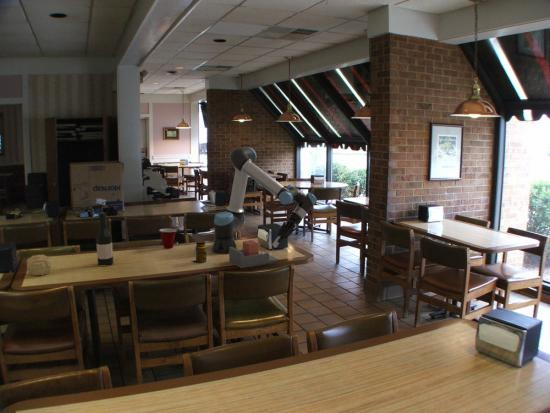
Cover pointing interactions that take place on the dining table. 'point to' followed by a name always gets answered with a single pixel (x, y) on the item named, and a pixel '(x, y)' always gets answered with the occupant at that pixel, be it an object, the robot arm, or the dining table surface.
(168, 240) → the plastic cup
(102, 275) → the dining table surface
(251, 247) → the red block
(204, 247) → the condiment
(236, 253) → the grey open bin
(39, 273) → the sculpture
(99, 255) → the wine bottle
